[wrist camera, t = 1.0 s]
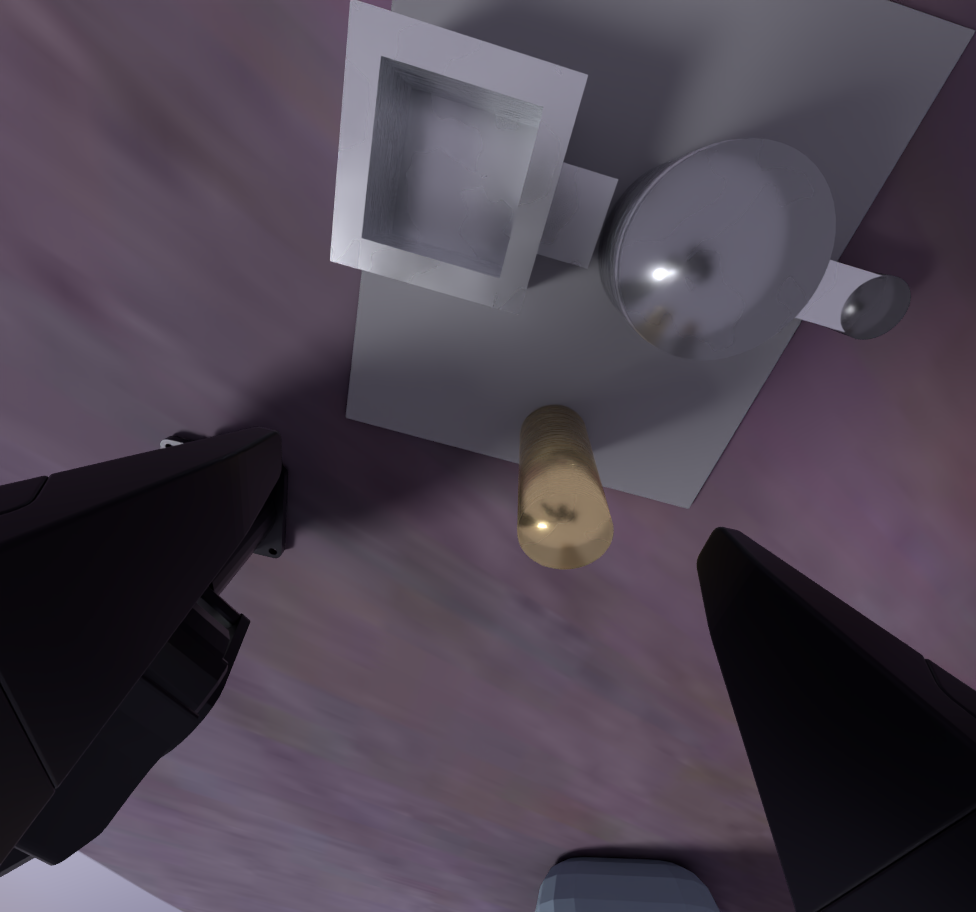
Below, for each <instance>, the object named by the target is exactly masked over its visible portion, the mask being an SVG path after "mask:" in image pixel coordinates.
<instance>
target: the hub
mask: <svg viewBox="0 0 976 912" xmlns="http://www.w3.org/2000/svg"><path fill="white" fill-rule="evenodd" d="M835 233H836V214H835V206H834V201H833V197H832V194H831V191H830V188H829V186H828V184H827V182H826V180H825V177H824V176H823V174H822V173H821V172H820V170H819V169H818V167H817V166H816V165H815V164H814V163H813V162H812V161H811V160H810V159H809V158H808V157H807V156H806V155H804V154H803V153H801V152H800V151H798V150H797V149H795V148H793V147H791V146H789V145H786V144H784V143H781V142H777V141H773V140H769V139H757V138H748V139H734V140H727V141H723V142H718V143H714V144H711V145H708V146H706V147H703V148H700V149H698V150H695V151H692V152H690V153H687V154H685V155H683V156H682V157H680V158H677V159H674V160H671V161H669V162H666V163H664V164H661V165H659V166H657V167H655V168H653V169H651V170H649V171H648V172H646V173H645V174H644V175H642V176H641V177H639V178H638V179H637V180H636V181H635V182H634V183H632V184H631V185H630V186H629V187H628V188H627V189H626V191H625V192H624V193H623V194H622V195H621V196H620V198H619V199H618V201H617V202H616V204H615V205H614V206H613V208H612V210H611V212H610V214H609V216H608V218H607V220H606V223H605V225H604V227H603V231H602V234H601V238H600V244H599V250H598V266H599V274H600V278H601V282H602V285H603V288H604V290H605V292H606V294H607V296H608V298H609V299H610V301H611V302H612V303H613V305H614V306H615V307H616V308H617V309H618V310H619V311H620V312H621V314H622V315H623V316H624V318H625V319H626V320H627V322H628V323H629V324H630V325H631V326H632V328H633V329H634V330H635V331H636V332H637V333H638V334H639V335H640V336H641V337H642V338H643V339H645V340H646V341H647V342H649V343H650V344H651V345H653V346H655V347H656V348H658V349H660V350H662V351H664V352H666V353H668V354H671V355H673V356H676V357H680V358H685V359H690V360H715V359H721V358H727V357H730V356H734V355H737V354H740V353H743V352H745V351H748V350H750V349H752V348H754V347H756V346H758V345H760V344H762V343H764V342H765V341H767V340H768V339H770V338H771V337H773V336H774V335H776V334H777V333H778V332H780V331H781V330H782V329H783V328H784V327H786V326H787V325H788V324H789V323H790V322H791V321H792V320H793V319H794V318H795V317H796V316H797V315H798V314H799V313H800V312H801V310H802V309H803V308H804V307H805V305H806V304H807V303H808V302H809V300H810V299H811V297H812V296H813V294H814V293H815V291H816V290H817V288H818V286H819V284H820V282H821V280H822V278H823V277H824V274H825V272H826V269H827V267H828V264H829V262H830V258H831V254H832V251H833V247H834V240H835Z"/></svg>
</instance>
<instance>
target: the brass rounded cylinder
mask: <svg viewBox="0 0 976 912" xmlns="http://www.w3.org/2000/svg"><path fill="white" fill-rule="evenodd" d="M613 531H614V530H613V523H612V520H611V516H610V512H609V509H608V505H607V502H606V498H605V494H604V491H603V487H602V484H601V480H600V476H599V473H598V469H597V466H596V462H595V458H594V455H593V451H592V448H591V444H590V441H589V437H588V433H587V430H586V426H585V423H584V421H583V419H582V418H581V417H580V415H579V414H578V413H577V412H575V411H574V410H572V409H571V408H569V407H566V406H562V405H546V406H543V407H540V408H538V409H536V410H534V411H533V412H531V413H530V414H529V415H528V416H527V417H526V419H525V420H524V422H523V424H522V426H521V429H520V445H519V484H518V522H517V536H518V541H519V544H520V546H521V548H522V549H523V551H524V552H525V553H526V554H527V555H528V556H529V557H530V558H531V559H532V560H534V561H535V562H537V563H539V564H541V565H543V566H546V567H550V568H555V569H574V568H579V567H582V566H585V565H588V564H590V563H592V562H594V561H595V560H597V559H598V558H599V557H601V556H602V555H603V554H604V553H605V551H606V550H607V549H608V547H609V546H610V544H611V541H612V538H613Z"/></svg>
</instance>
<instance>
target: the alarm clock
mask: <svg viewBox="0 0 976 912" xmlns="http://www.w3.org/2000/svg"><path fill="white" fill-rule="evenodd" d="M535 912H720V911H719V909H718V907H717V905H716V903H715V901H714V899H713V897H712V895H711V893H710V891H709V889H708V887H707V886H706V885H705V884H704V883H703V882H702V881H701V880H700V879H699V878H698V877H697V876H696V875H695V874H694V873H692V872H691V871H689V870H687V869H685V868H683V867H681V866H678V865H676V864H674V863H672V862H667V861H661V860H647V859H621V858H596V857H578V858H570V859H567V860H565V861H562V862H560V863H558V864H556V865H555V866H553V867H552V868H551V869H550V871H549V872H548V874H547V876H546V877H545V879H544V881H543V883H542V885H541V887H540V891H539V896H538V901H537V906H536V911H535Z"/></svg>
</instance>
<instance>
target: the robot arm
mask: <svg viewBox="0 0 976 912" xmlns="http://www.w3.org/2000/svg"><path fill="white" fill-rule="evenodd" d="M171 445H173V446H171ZM160 447H161V449H158V450H153V451H149V452H145V453H140V454H136V455H132V456H127V457H123V458H119V459H114V460H110V461H106V462H101V463H97V464H93V465H88V466H84V467H80V468H76V469H71V470H67V471H63V472H58V473H54V474H51V475H50V476H49V477H47V476H40V477H36V478H32V479H27V480H23V481H19V482H14V483H10V484H5V485H1V486H0V877H2V876H3V875H5V874H7V873H9V872H10V871H12V870H14V869H16V868H17V867H19V866H21V865H23V864H24V863H26V862H28V861H30V860H31V859H33V858H37V859H39V860H41V861H43V862H45V863H47V864H49V865H56V864H58V863H60V862H62V861H64V860H65V859H67V858H68V857H69V856H71V855H72V854H74V853H75V852H77V851H78V850H79V849H81V848H82V847H83V846H85V845H86V844H88V843H89V842H90V841H92V840H93V839H94V838H96V837H97V836H98V835H99V834H101V833H102V832H103V830H104V829H105V828H106V827H107V825H108V824H109V823H110V821H111V820H112V819H113V817H114V816H115V815H116V813H117V812H118V811H119V809H120V808H121V807H122V805H123V804H124V803H125V801H126V800H127V799H128V797H129V796H130V795H131V793H132V792H133V791H134V789H135V788H136V787H137V785H138V784H139V783H140V782H141V780H142V779H143V778H144V777H145V775H146V774H147V773H148V772H149V770H150V769H151V768H152V767H153V766H154V765H155V763H156V762H157V761H158V760H159V759H160V758H161V757H163V756H164V755H166V754H167V753H169V752H170V751H171V750H173V749H174V748H175V747H176V746H177V745H179V744H180V743H181V742H182V741H183V740H184V739H185V738H186V737H187V736H188V735H189V734H190V733H191V732H192V731H193V730H194V729H195V728H196V727H197V726H198V725H199V724H200V723H201V721H202V720H203V719H204V718H205V717H206V715H207V714H208V713H209V711H210V710H211V709H212V707H213V706H214V704H215V703H216V701H217V700H218V698H219V696H220V694H221V692H222V690H223V688H224V686H225V684H226V681H227V679H228V676H229V674H230V671H231V669H232V666H233V664H234V661H235V659H236V656H237V654H238V651H239V649H240V646H241V644H242V641H243V639H244V636H245V634H246V631H247V629H248V626H249V624H250V620H249V619H248V618H247V617H245V616H244V615H243V614H239V613H238V612H237V611H236V610H234V609H233V608H232V607H231V606H230V605H229V604H228V603H227V602H226V601H224V600H223V599H222V598H221V597H220V596H219V595H220V593H221V592H222V591H223V590H224V588H225V587H226V586H227V585H228V583H229V582H230V581H231V580H232V578H233V577H234V576H235V575H236V573H237V572H238V571H239V570H240V568H241V567H242V566H243V565H244V563H245V562H246V561H247V560H248V558H249V557H250V556H251V555H252V553H255V554H259V555H263V556H268V557H272V558H278V557H280V556H281V555H282V553H283V552H284V549H285V528H286V505H287V483H288V471H287V469H286V467H285V466H283V465H282V457H281V436H280V433H279V432H278V431H276V430H273V429H268V428H263V427H253V428H249V429H244V430H240V431H236V432H231V433H227V434H223V435H218V436H214V437H210V438H205V439H201V440H197V441H190V440H187V439H183V438H179V437H175V436H170V437H167V438H166V439H164V440H163V441H162V442H161V444H160ZM274 549H275V550H274ZM697 571H698V576H699V582H700V587H701V592H702V597H703V602H704V607H705V612H706V617H707V623H708V627H709V631H710V635H711V639H712V642H713V646H714V649H715V652H716V656H717V659H718V662H719V665H720V669H721V672H722V675H723V678H724V681H725V685H726V688H727V691H728V694H729V698H730V701H731V704H732V707H733V711H734V714H735V717H736V720H737V723H738V727H739V730H740V733H741V736H742V740H743V743H744V746H745V749H746V752H747V756H748V759H749V762H750V765H751V769H752V772H753V775H754V778H755V782H756V785H757V788H758V791H759V794H760V798H761V801H762V804H763V807H764V811H765V814H766V817H767V820H768V823H769V827H770V830H771V833H772V836H773V840H774V843H775V846H776V849H777V853H778V856H779V859H780V862H781V865H782V869H783V872H784V875H785V878H786V882H787V885H788V888H789V891H790V894H791V898H792V901H793V904H794V907H795V911H796V912H976V691H975V690H974V689H972V688H971V687H969V686H968V685H966V684H965V683H963V682H962V681H960V680H959V679H957V678H956V677H954V676H953V675H951V674H950V673H948V672H947V671H945V670H944V669H942V668H941V667H939V666H938V665H936V664H935V663H933V662H932V661H930V660H929V659H924V657H923V655H921V654H920V653H918V652H917V651H916V650H914V649H913V648H911V647H910V646H908V645H907V644H905V643H904V642H902V641H901V640H899V639H898V638H896V637H895V636H893V635H892V634H890V633H889V632H888V631H886V630H885V629H883V628H882V627H880V626H879V625H877V624H876V623H874V622H873V621H871V620H870V619H868V618H867V617H865V616H864V615H862V614H861V613H860V612H858V611H857V610H855V609H854V608H852V607H851V606H849V605H848V604H846V603H845V602H843V601H842V600H840V599H839V598H837V597H836V596H834V595H833V594H832V593H830V592H829V591H827V590H826V589H824V588H823V587H821V586H820V585H818V584H817V583H815V582H814V581H812V580H811V579H809V578H808V577H806V576H805V575H804V574H802V573H801V572H799V571H798V570H796V569H795V568H793V567H792V566H790V565H789V564H787V563H786V562H784V561H783V560H781V559H780V558H778V557H777V556H776V555H774V554H773V553H771V552H770V551H768V550H767V549H765V548H764V547H762V546H761V545H759V544H758V543H756V542H755V541H753V540H752V539H750V538H749V537H748V536H746V535H745V534H743V533H742V532H740V531H738V530H734V529H730V528H725V527H718V528H716V529H715V530H713V532H712V533H711V535H710V537H709V538H708V540H707V542H706V544H705V545H704V547H703V549H702V551H701V552H700V554H699V556H698V559H697Z"/></svg>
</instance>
